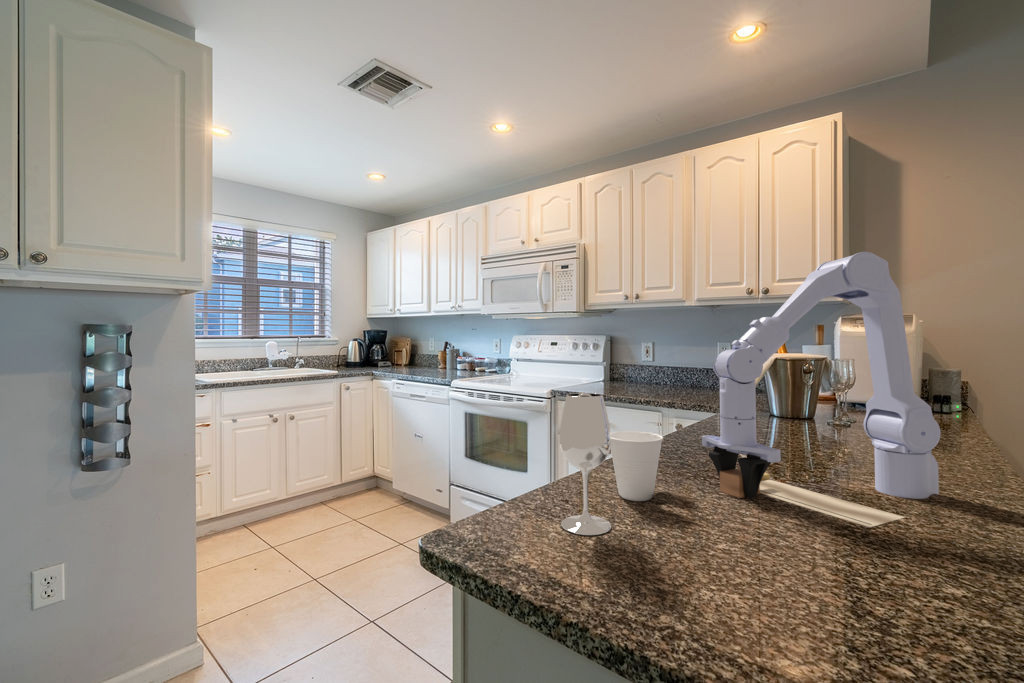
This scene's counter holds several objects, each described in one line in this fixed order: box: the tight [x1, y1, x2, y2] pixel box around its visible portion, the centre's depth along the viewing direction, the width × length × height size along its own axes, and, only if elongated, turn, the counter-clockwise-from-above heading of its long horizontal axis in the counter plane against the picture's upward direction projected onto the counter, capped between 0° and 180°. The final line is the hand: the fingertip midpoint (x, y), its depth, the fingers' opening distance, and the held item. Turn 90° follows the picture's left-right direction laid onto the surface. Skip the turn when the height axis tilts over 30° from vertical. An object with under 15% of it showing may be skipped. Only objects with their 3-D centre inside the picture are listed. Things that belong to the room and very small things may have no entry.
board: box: [760, 479, 906, 528], centre depth 77 cm, size 9×22×2 cm, turn 24°
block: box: [719, 467, 771, 499], centre depth 82 cm, size 10×4×5 cm, turn 114°
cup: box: [610, 430, 664, 502], centre depth 85 cm, size 10×10×11 cm
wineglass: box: [558, 392, 612, 536], centre depth 71 cm, size 8×8×20 cm
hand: (739, 494), depth 81 cm, fingers closed on block, 4 cm apart
